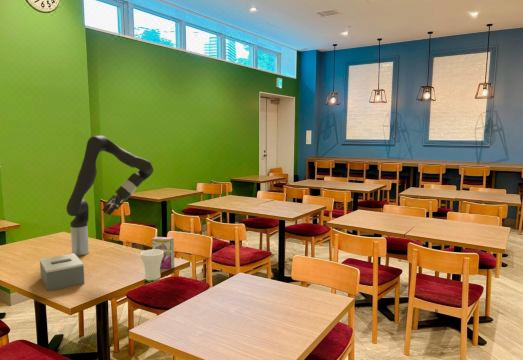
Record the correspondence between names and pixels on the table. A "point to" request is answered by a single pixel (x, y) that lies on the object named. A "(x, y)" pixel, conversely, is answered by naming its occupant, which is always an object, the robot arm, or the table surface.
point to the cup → (152, 263)
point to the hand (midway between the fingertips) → (105, 212)
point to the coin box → (61, 271)
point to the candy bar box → (165, 250)
